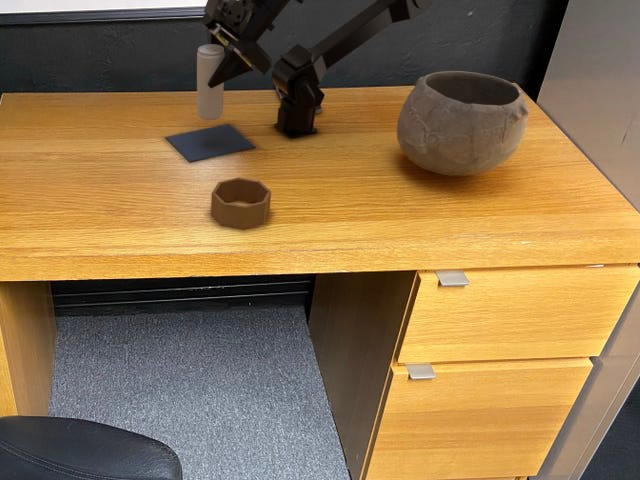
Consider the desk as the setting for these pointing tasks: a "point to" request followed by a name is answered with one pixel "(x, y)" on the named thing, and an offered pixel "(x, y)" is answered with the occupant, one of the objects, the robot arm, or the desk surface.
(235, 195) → the brown octagonal cup
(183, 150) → the cloth
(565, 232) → the desk surface
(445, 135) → the clay pot
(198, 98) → the beverage can
